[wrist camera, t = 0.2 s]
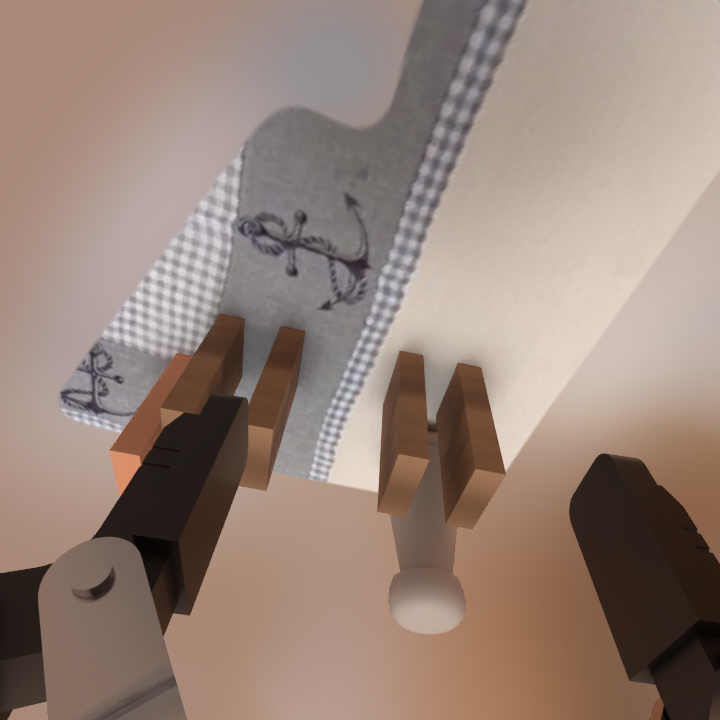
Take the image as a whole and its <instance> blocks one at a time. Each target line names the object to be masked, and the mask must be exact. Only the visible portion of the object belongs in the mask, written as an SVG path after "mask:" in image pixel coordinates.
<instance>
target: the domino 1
mask: <svg viewBox="0 0 720 720" xmlns="http://www.w3.org/2000/svg"><path fill="white" fill-rule="evenodd" d="M192 357H193V356H188V355H183V354H178V353H177V354H176V355H175V357H174V358H173V360H172V361H171V363H170V364H169V366H168V367H167V368H166V370H165V371H164V373H163V374H162V376H161V377H160V379H159V380H158V381H157V383H156V384H155V386H154V387H153V389H152V390H151V391H150V393H149V394H148V396H147V397H146V399H145V400H144V402H143V403H142V404H141V406H140V407H139V409H138V410H137V412H136V413H135V415H134V416H133V417H132V419H131V420H130V422H129V423H128V425H127V426H126V427H125V429H124V430H123V432H122V433H121V435H120V436H119V438H118V439H117V441H116V442H115V443H114V445H113V447H112V448H111V449H110V454H111V459H112V464H113V468H114V473H115V478H116V482H117V487H118V492H119V497H120V496H121V495H122V493H123V491H124V490H125V488H126V487H127V485H128V484H129V482H130V480H131V479H132V477H133V476H134V474H135V473H136V471H137V469H138V468H139V466H142V462H143V460H144V458H145V457H146V455H147V454H148V452H149V451H150V450H152V446H153V444H154V443H155V441H156V440H157V438H158V436H159V435H160V433H161V432H162V421H161V411H160V407H161V406H162V404H163V403H164V401H165V399H166V398H167V396H168V395H169V393H170V392H171V390H172V389H173V387H174V385H175V384H176V382H177V381H178V379H179V378H180V376H181V374H182V373H183V371H184V370H185V368H186V367H187V365H188V363H189V362H190V360H191V359H192Z"/></svg>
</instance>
